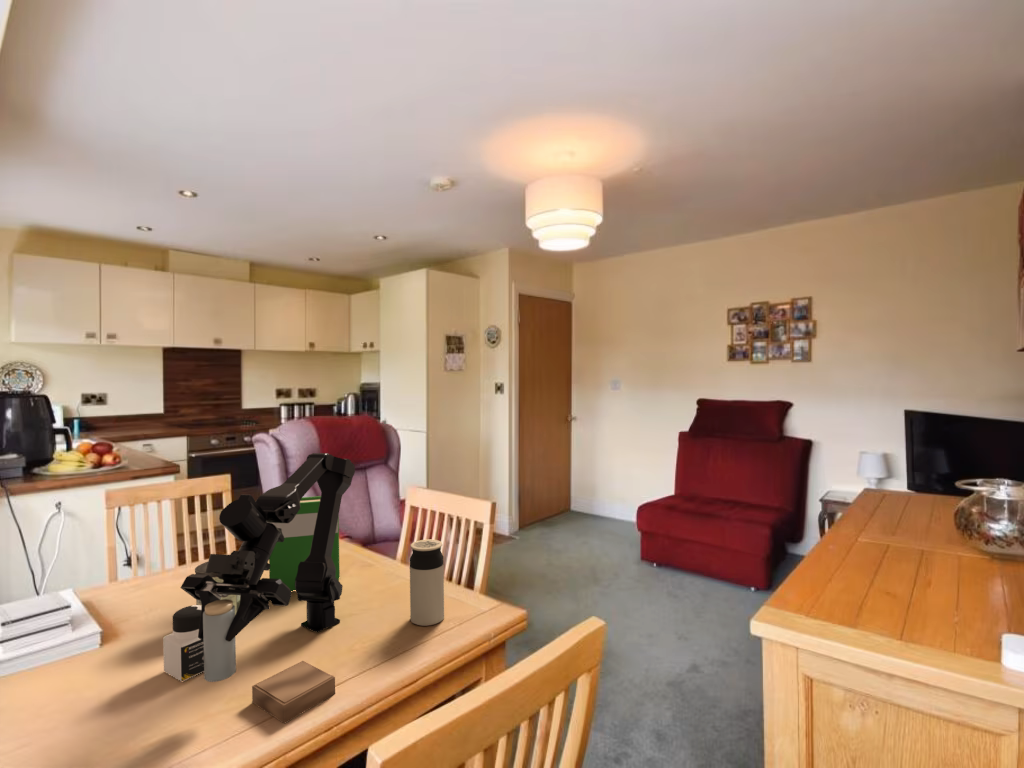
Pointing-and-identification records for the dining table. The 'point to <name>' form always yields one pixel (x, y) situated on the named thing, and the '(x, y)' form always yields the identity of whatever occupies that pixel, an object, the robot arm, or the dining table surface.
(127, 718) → the dining table surface
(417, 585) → the travel mug
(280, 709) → the walnut block
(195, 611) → the medicine bottle
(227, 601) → the spice jar
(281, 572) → the hardback book
